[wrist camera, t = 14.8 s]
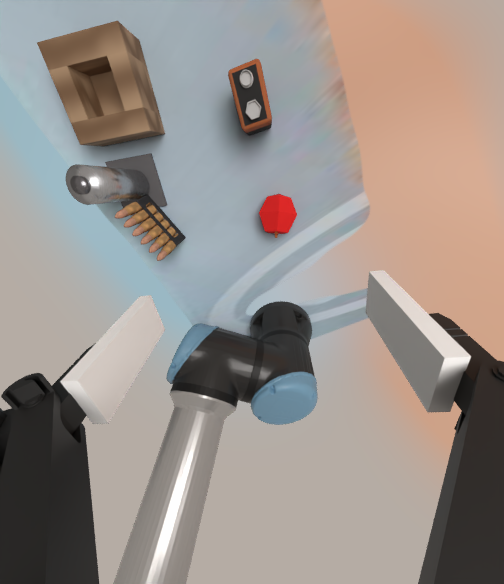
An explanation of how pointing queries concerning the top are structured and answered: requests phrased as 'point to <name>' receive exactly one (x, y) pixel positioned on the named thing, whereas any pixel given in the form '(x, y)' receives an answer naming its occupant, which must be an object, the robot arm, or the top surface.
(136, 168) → the pad
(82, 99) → the box
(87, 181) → the silver metal cylinder
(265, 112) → the battery
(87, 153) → the top surface
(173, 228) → the ammunition clip
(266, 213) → the apple
